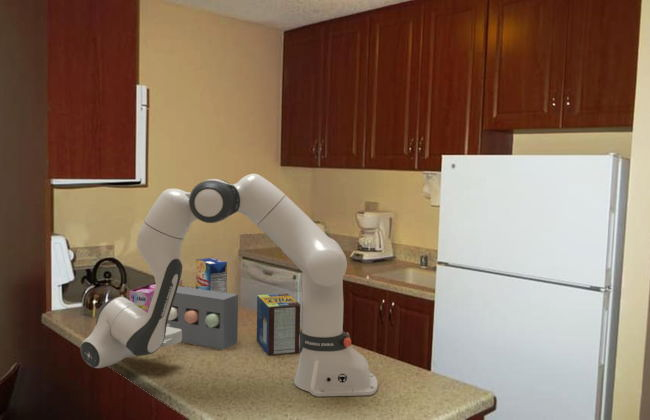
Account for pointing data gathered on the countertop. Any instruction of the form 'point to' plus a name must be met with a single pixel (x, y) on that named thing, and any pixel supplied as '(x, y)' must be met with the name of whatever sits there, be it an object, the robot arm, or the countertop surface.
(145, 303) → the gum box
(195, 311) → the terracotta button
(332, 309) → the robot arm
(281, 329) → the protein box
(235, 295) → the button panel
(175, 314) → the cream button
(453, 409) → the countertop surface
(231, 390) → the countertop surface
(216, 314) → the sage button
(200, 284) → the beverage box
